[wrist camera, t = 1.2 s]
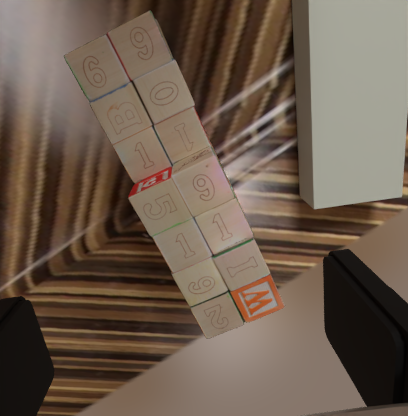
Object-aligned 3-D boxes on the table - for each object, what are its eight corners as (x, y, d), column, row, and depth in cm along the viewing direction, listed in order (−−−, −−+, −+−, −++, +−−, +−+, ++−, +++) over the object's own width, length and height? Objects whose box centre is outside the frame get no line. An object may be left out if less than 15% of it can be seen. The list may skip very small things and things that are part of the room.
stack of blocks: (98, 64, 29) (41, 46, 18) (163, 31, 29) (147, -9, 17) (199, 262, 36) (206, 343, 25) (253, 239, 36) (287, 310, 24)
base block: (291, -9, 28) (307, -24, 24) (386, -22, 28) (417, -39, 25) (299, 196, 34) (314, 209, 30) (377, 185, 34) (401, 196, 30)
